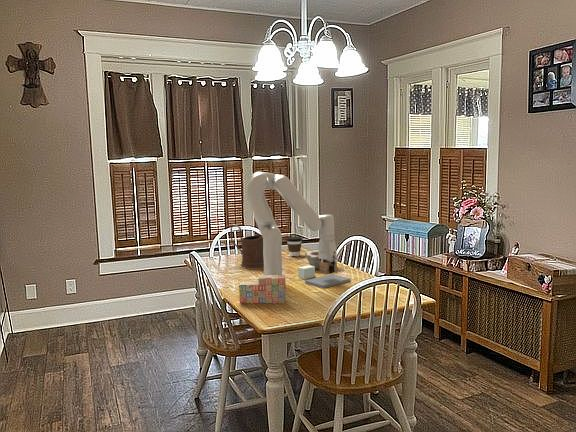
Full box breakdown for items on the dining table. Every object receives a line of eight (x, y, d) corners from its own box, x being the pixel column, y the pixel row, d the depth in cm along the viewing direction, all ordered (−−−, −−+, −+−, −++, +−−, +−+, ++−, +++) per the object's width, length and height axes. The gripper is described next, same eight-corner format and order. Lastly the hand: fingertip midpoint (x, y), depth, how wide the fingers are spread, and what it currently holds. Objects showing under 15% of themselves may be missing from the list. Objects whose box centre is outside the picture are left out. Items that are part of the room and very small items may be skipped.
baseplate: (323, 288, 267) (323, 285, 267) (305, 283, 278) (305, 280, 278) (350, 281, 280) (350, 278, 279) (332, 276, 290) (332, 274, 290)
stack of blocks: (239, 304, 244) (238, 278, 242) (241, 300, 250) (240, 275, 248) (285, 303, 243) (284, 277, 241) (286, 299, 249) (285, 274, 247)
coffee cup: (295, 253, 357) (295, 236, 356) (306, 255, 349) (305, 237, 347) (283, 255, 350) (282, 238, 349) (293, 258, 342) (293, 240, 340)
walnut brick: (326, 274, 274) (325, 263, 273) (319, 273, 278) (319, 262, 277) (337, 272, 279) (336, 261, 278) (330, 270, 283) (330, 259, 282)
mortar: (338, 270, 306) (338, 254, 305) (310, 272, 302) (310, 256, 301) (330, 264, 322) (330, 249, 321) (303, 266, 319) (303, 251, 317)
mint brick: (304, 279, 286) (304, 268, 285) (298, 278, 290) (298, 267, 289) (315, 277, 291) (314, 266, 290) (309, 275, 295) (308, 265, 294)
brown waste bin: (267, 268, 314) (265, 227, 311) (228, 268, 318) (226, 227, 315) (272, 262, 332) (271, 223, 329) (235, 261, 336) (234, 223, 333)
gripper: (311, 237, 280) (312, 270, 282) (333, 240, 267) (334, 275, 269) (321, 235, 285) (322, 268, 287) (343, 238, 271) (344, 273, 274)
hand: (328, 271), depth 278 cm, fingers closed on walnut brick, 5 cm apart
